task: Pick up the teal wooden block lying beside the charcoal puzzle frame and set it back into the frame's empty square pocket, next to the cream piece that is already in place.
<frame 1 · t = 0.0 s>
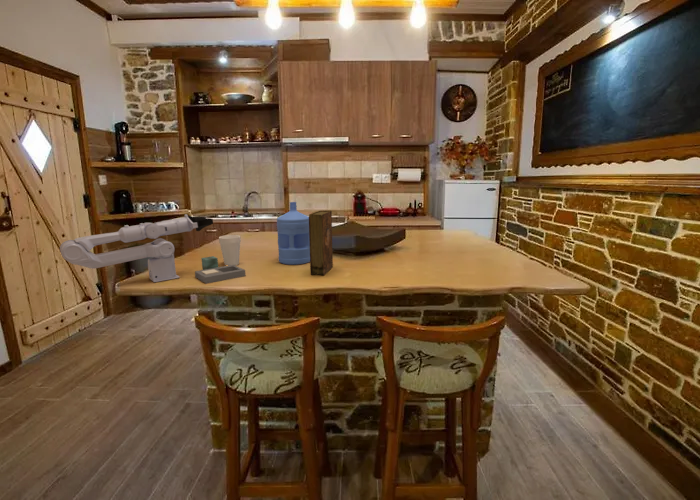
hand: (209, 220, 152), 22 cm above the countertop, tool horizontal, fingers open, 7 cm apart
water jug: (295, 261, 171), on the countertop
book: (322, 271, 153), on the countertop
block: (210, 271, 154), on the countertop
frame: (220, 276, 146), on the countertop
foam cup: (231, 264, 166), on the countertop
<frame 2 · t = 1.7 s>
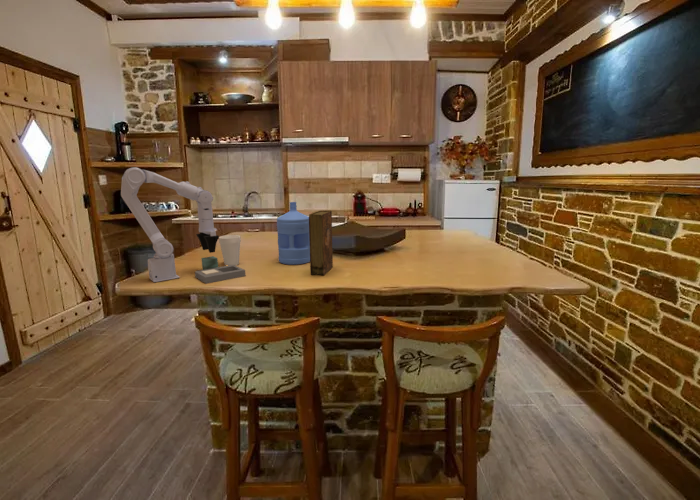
hand: (208, 250, 152), 9 cm above the countertop, tool pointing down, fingers open, 7 cm apart
nothing on the countertop moved.
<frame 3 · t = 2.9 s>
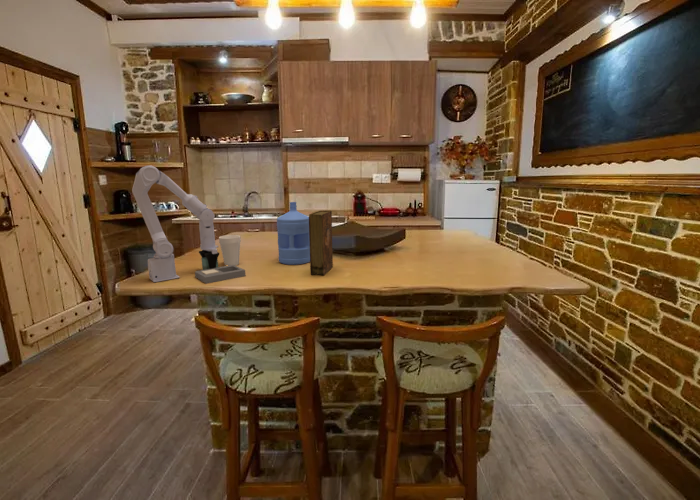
hand: (210, 267, 154), 2 cm above the countertop, tool pointing down, fingers closed on block, 5 cm apart
block: (210, 271, 154), on the countertop, touching gripper
everything else where it was.
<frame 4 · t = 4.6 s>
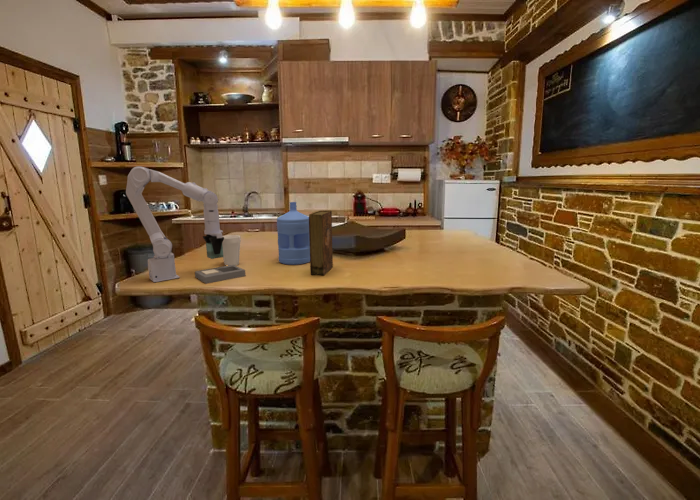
hand: (214, 253, 150), 8 cm above the countertop, tool pointing down, fingers closed on block, 5 cm apart
block: (215, 257, 151), point 7 cm above the countertop, touching gripper
everything else where it was.
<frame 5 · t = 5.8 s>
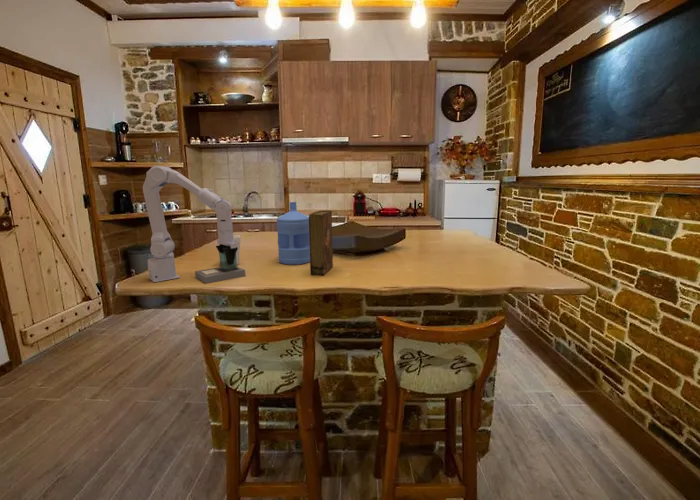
hand: (228, 263, 147), 5 cm above the countertop, tool pointing down, fingers closed on block, 5 cm apart
block: (228, 267, 147), point 3 cm above the countertop, touching gripper
everything else where it was.
when the fingers open (4 cm above the countertop, at t = 6.6 s): block drops 2 cm, resting in frame.
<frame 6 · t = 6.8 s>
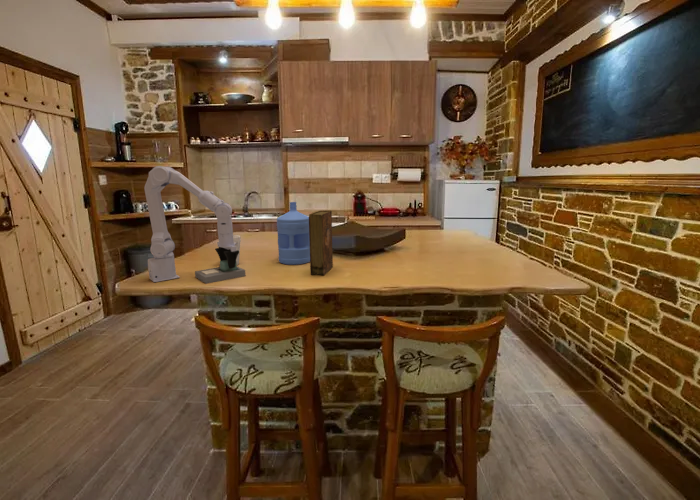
hand: (228, 266, 147), 4 cm above the countertop, tool pointing down, fingers open, 7 cm apart
block: (229, 275, 148), resting in frame
everything else where it was.
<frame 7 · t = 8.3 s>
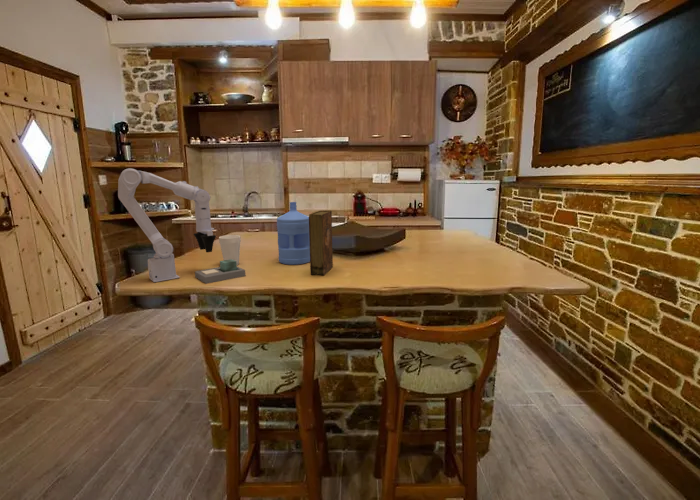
hand: (205, 250, 151), 9 cm above the countertop, tool pointing down, fingers open, 7 cm apart
nothing on the countertop moved.
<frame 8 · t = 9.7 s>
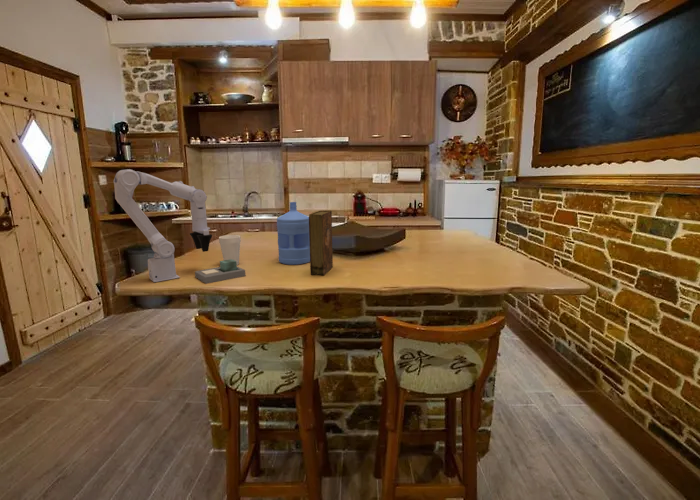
hand: (202, 250, 152), 9 cm above the countertop, tool pointing down, fingers open, 7 cm apart
nothing on the countertop moved.
at the end: block 0.1 cm from the target spot on the frame, point 0.0 cm above the frame's base; block tilted 0°; the gripper is holding nothing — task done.
